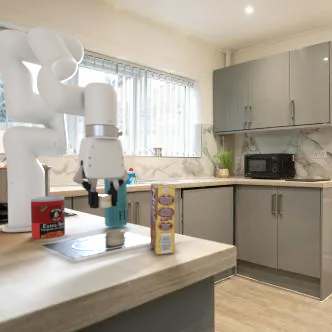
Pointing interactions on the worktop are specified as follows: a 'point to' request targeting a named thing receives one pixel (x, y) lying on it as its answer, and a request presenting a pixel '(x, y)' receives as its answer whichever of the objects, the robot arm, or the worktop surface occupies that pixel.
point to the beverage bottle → (117, 207)
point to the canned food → (47, 217)
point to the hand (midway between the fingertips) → (103, 206)
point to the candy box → (162, 218)
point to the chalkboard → (93, 245)
